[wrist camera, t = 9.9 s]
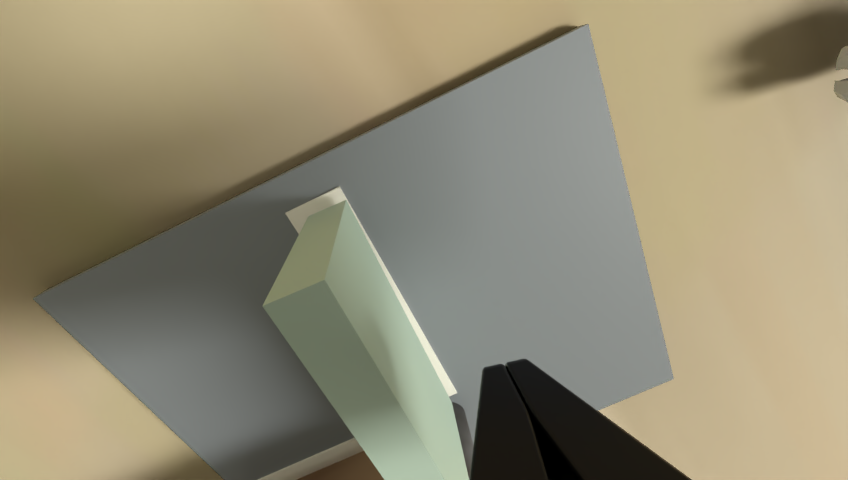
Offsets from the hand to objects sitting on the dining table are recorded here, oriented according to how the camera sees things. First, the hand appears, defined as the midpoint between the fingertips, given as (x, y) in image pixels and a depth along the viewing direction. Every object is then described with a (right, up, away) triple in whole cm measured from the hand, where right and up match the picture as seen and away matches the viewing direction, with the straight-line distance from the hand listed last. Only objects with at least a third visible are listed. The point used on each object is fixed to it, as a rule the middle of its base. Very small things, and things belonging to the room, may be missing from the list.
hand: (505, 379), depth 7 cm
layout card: (-2, -1, +7) cm, 7 cm away
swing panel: (-3, 0, +6) cm, 6 cm away
